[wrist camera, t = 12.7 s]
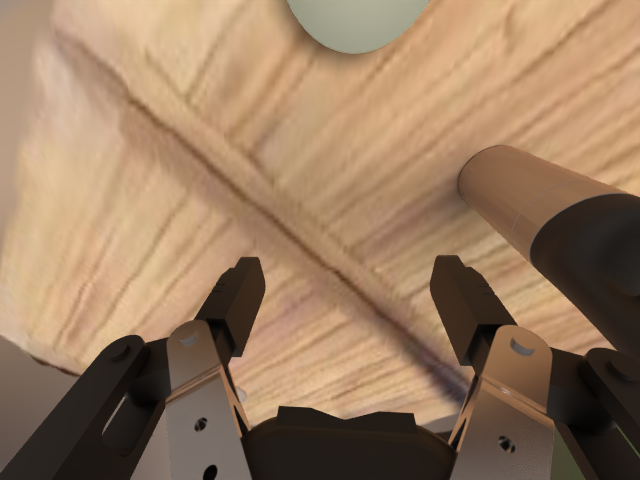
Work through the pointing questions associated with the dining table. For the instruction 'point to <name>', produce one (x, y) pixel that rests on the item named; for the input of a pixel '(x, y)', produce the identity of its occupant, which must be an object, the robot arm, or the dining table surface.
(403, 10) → the lid
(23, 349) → the dining table surface
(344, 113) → the dining table surface
